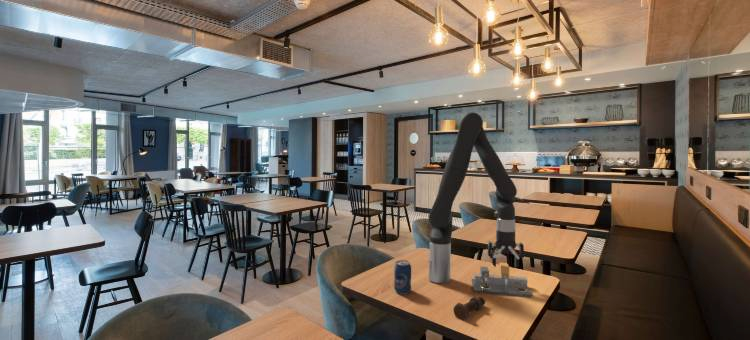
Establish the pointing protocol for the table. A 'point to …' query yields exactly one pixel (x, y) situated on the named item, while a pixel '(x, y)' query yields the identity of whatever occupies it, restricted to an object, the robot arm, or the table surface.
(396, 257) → the table surface
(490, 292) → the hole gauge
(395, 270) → the soda can
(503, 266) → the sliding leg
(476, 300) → the dark brown lobed piece
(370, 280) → the table surface
